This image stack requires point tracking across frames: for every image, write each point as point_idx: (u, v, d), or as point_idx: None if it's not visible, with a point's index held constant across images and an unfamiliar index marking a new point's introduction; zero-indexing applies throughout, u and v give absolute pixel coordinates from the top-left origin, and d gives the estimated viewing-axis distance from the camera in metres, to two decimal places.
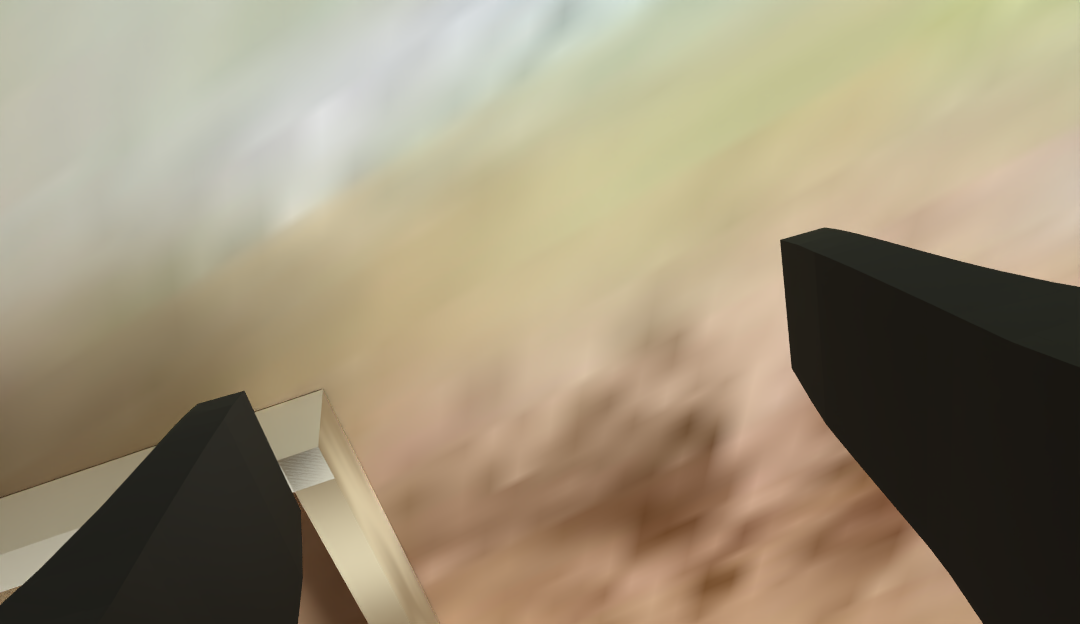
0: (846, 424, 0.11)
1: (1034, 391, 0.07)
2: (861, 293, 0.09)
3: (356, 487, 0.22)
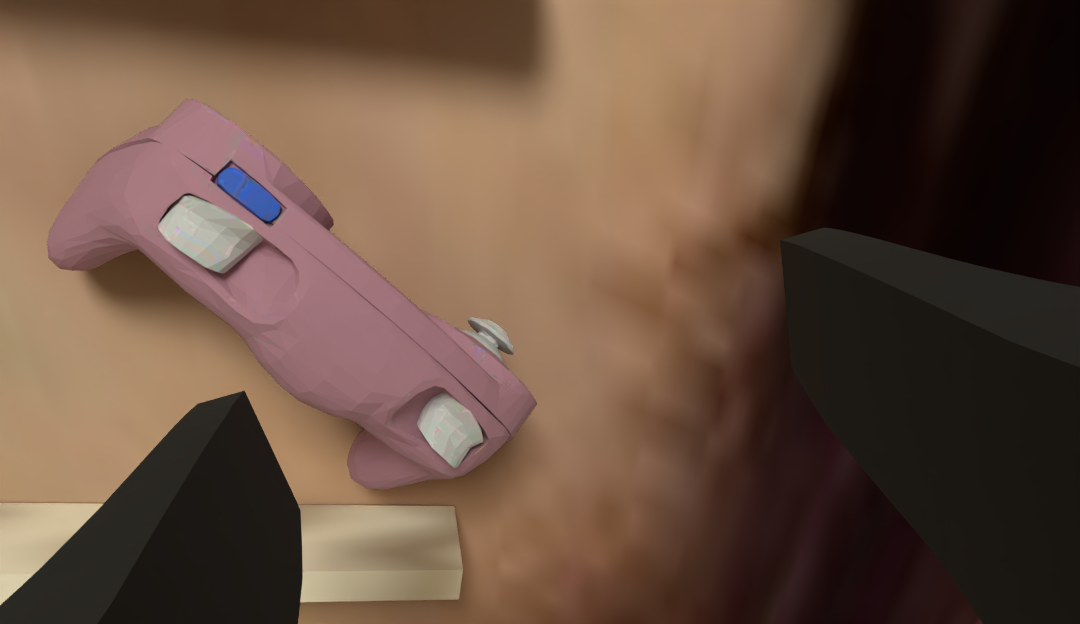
0: (846, 424, 0.11)
1: (1034, 391, 0.07)
2: (861, 293, 0.09)
3: None
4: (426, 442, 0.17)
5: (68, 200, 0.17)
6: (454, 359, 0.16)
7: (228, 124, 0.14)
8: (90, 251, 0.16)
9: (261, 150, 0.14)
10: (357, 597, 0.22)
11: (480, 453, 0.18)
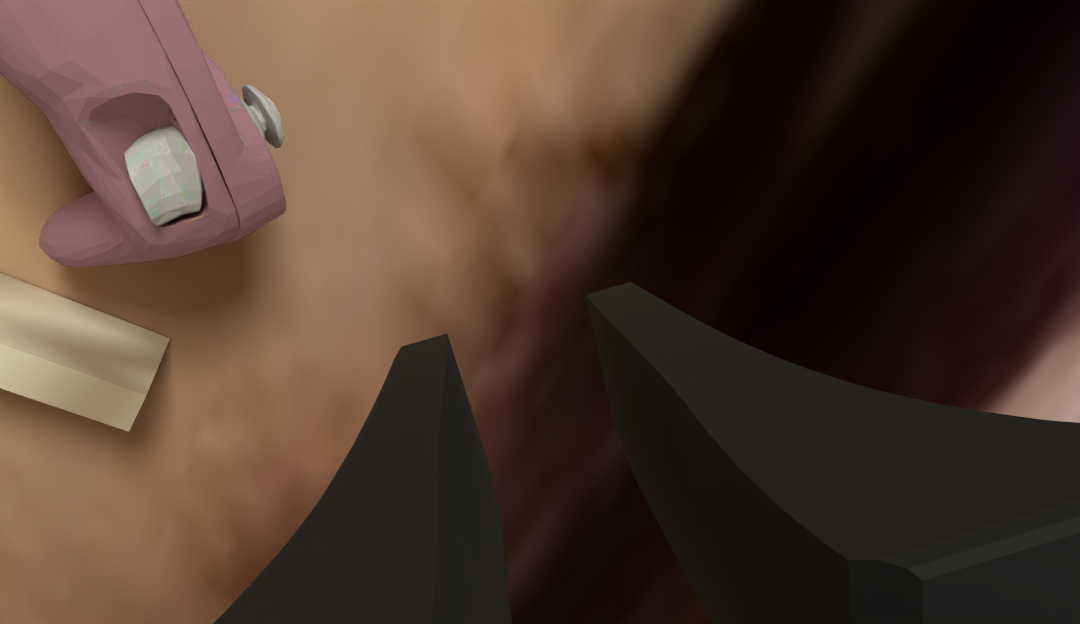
0: (645, 483, 0.11)
1: (724, 483, 0.07)
2: (630, 359, 0.09)
3: None
4: (128, 178, 0.14)
5: None
6: (194, 76, 0.13)
7: None
8: None
9: None
10: (1, 384, 0.18)
11: (193, 226, 0.14)
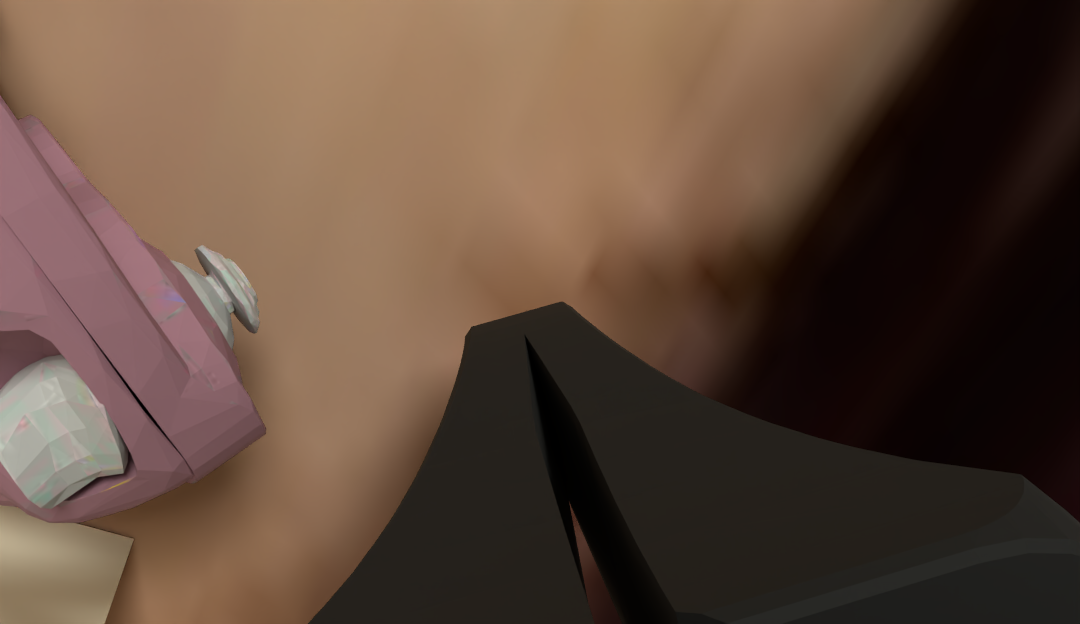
0: (574, 504, 0.11)
1: (613, 516, 0.07)
2: (548, 383, 0.09)
3: None
4: None
5: None
6: (91, 290, 0.08)
7: None
8: None
9: None
10: None
11: (117, 492, 0.09)
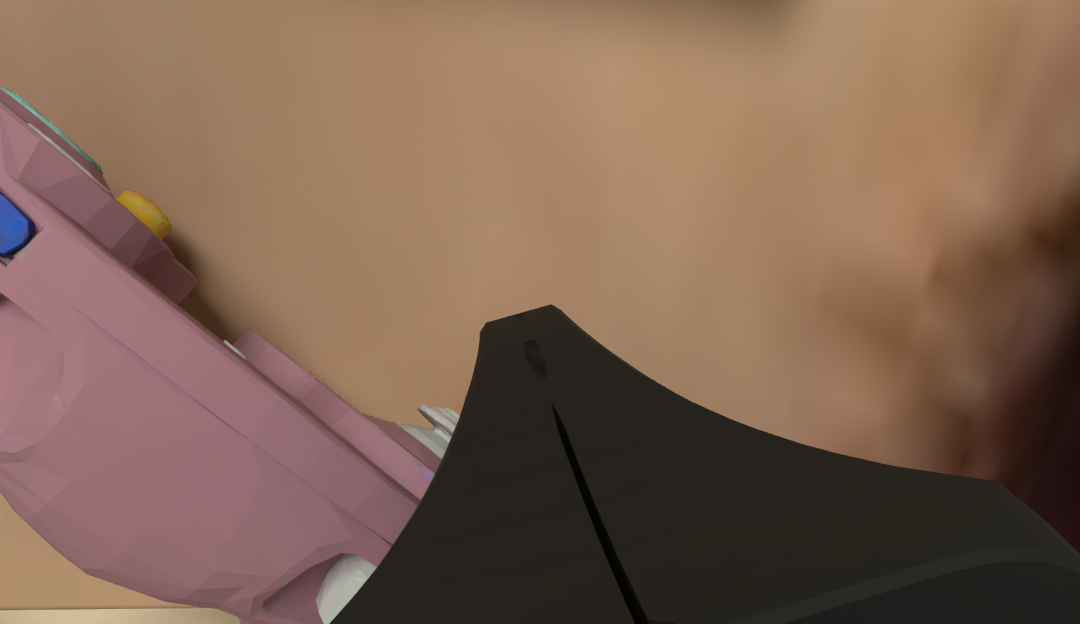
0: None
1: (596, 521, 0.07)
2: None
3: None
4: None
5: None
6: (376, 506, 0.09)
7: None
8: None
9: None
10: None
11: None
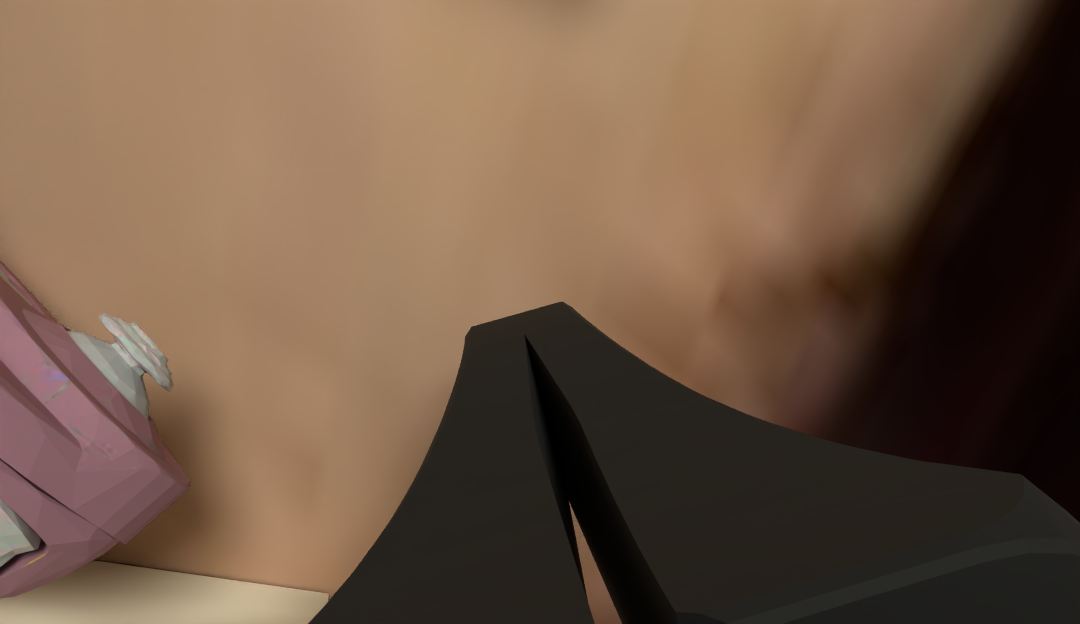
0: (574, 504, 0.11)
1: (613, 516, 0.07)
2: (548, 383, 0.09)
3: None
4: None
5: None
6: None
7: None
8: None
9: None
10: None
11: (37, 567, 0.09)
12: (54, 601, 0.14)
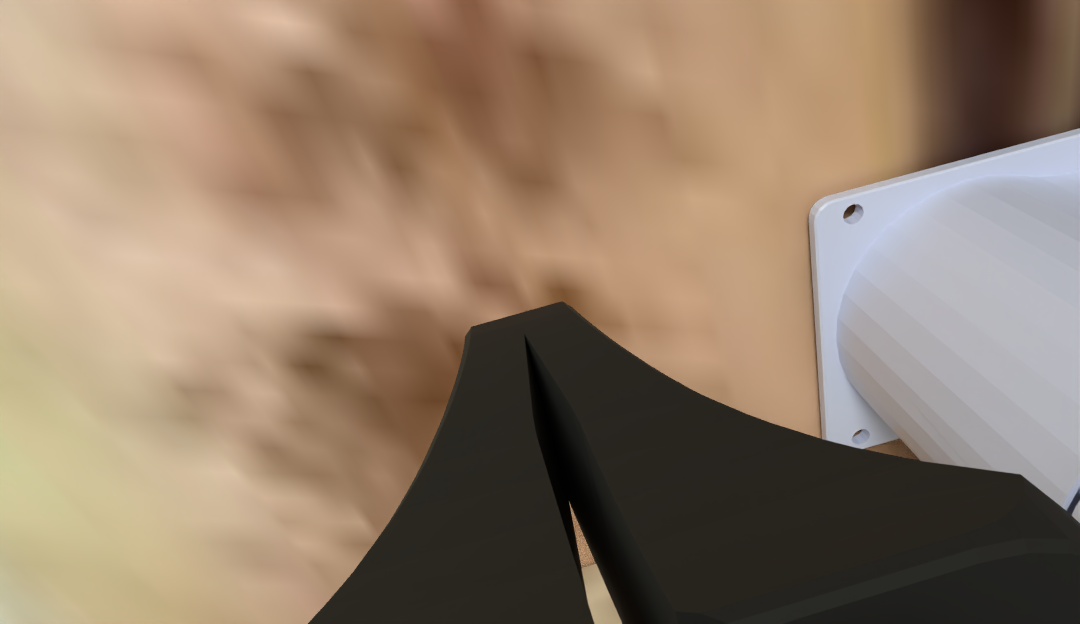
0: (574, 504, 0.11)
1: (613, 516, 0.07)
2: (548, 383, 0.09)
3: None
4: None
5: None
6: None
7: None
8: None
9: None
10: None
11: None
12: None
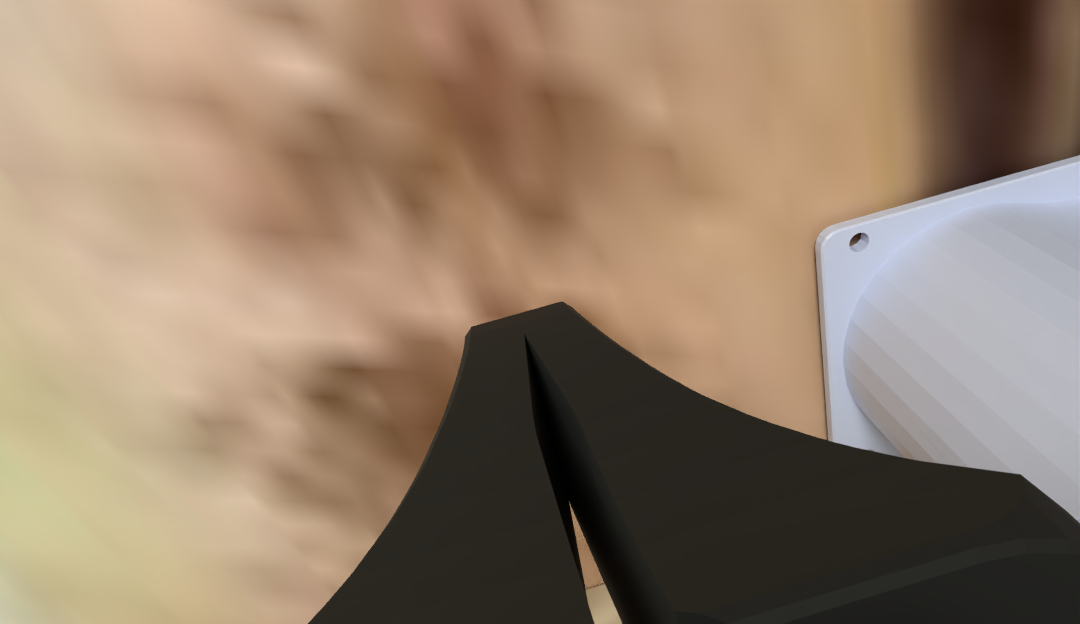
0: (574, 504, 0.11)
1: (613, 516, 0.07)
2: (548, 383, 0.09)
3: None
4: None
5: None
6: None
7: None
8: None
9: None
10: None
11: None
12: None
